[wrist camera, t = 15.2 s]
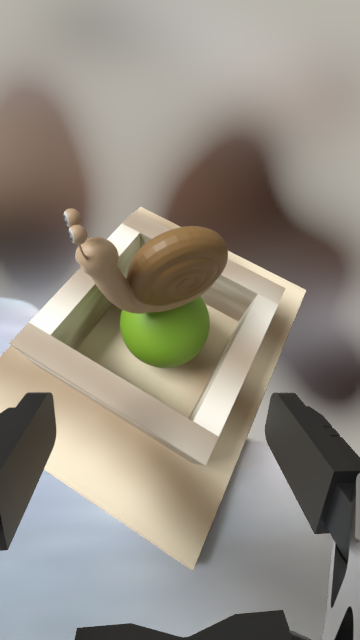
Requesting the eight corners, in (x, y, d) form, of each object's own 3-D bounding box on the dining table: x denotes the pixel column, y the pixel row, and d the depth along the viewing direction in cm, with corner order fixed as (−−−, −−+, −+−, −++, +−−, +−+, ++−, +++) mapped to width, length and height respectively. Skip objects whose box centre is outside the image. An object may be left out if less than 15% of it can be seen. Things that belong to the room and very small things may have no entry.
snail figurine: (99, 322, 20) (43, 159, 9) (183, 297, 21) (222, 134, 10) (123, 395, 17) (87, 301, 7) (213, 361, 19) (299, 242, 8)
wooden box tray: (189, 564, 15) (208, 610, 11) (-37, 409, 17) (-102, 393, 13) (300, 296, 24) (336, 259, 19) (140, 215, 26) (139, 164, 21)
